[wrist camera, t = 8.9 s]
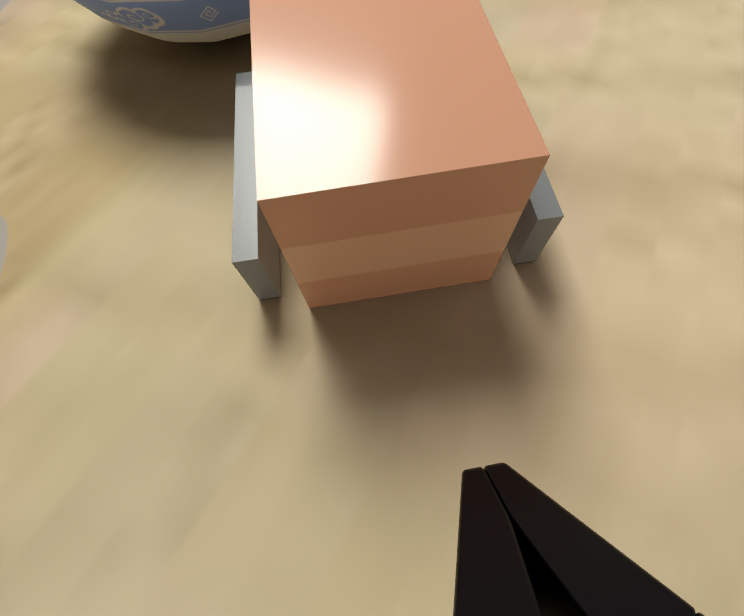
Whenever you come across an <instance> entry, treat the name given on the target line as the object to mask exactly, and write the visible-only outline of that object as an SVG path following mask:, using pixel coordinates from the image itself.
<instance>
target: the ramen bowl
mask: <svg viewBox="0 0 744 616" xmlns="http://www.w3.org/2000/svg"><path fill="white" fill-rule="evenodd" d="M74 1H76V2H78V3H79V4H81V5H82V6H84V7H86V8H87V9H89V10H90V11H92V12H94V13H95V14H97V15H98V16H100V17H102V18H104V19H106V20H108V21H110V22H112V23H114V24H116V25H118V26H120V27H122V28H125V29H128V30H131V31H134V32H138V33H141V34H144V35H147V36H150V37H154V38H157V39H160V40H165V41H171V42H217V41H221V40H225V39H229V38H233V37H237V36H241V35H245V34H249V33H251V29H250V2H249V0H74Z"/></svg>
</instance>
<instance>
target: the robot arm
mask: <svg viewBox="0 0 744 616" xmlns="http://www.w3.org/2000/svg"><path fill="white" fill-rule="evenodd" d="M453 616H704V615H703V614H701V613H695V610H694V608H693V607H692V606H691V605H689V604H688V603H687V602H686V601H684V600H683V599H682V598H680V597H679V596H678V595H676V594H675V593H674V592H673V591H671V590H670V589H669V588H667V587H666V586H665V585H663V584H662V583H661V582H659V581H658V580H657V579H656V578H654V577H653V576H652V575H650V574H649V573H648V572H646V571H645V570H644V569H643V568H641V567H640V566H639V565H637V564H636V563H635V562H633V561H632V560H631V559H630V558H628V557H627V556H626V555H624V554H623V553H622V552H620V551H619V550H618V549H617V548H615V547H614V546H613V545H611V544H610V543H609V542H607V541H606V540H605V539H604V538H602V537H601V536H600V535H598V534H597V533H596V532H594V531H593V530H592V529H590V528H589V527H588V526H587V525H585V524H584V523H583V522H581V521H580V520H579V519H577V518H576V517H575V516H574V515H572V514H571V513H570V512H568V511H567V510H566V509H564V508H563V507H562V506H561V505H559V504H558V503H557V502H555V501H554V500H553V499H551V498H550V497H549V496H548V495H546V494H545V493H544V492H542V491H541V490H540V489H538V488H537V487H536V486H534V485H533V484H532V483H531V482H529V481H528V480H527V479H525V478H524V477H523V476H521V475H520V474H519V473H518V472H516V471H515V470H514V469H512V468H511V467H510V466H508V465H507V464H505V463H498V464H493V465H488V466H486V467H485V468H484V469H483V468H481V467H477V468H472V469H467V470H464V471H463V472H462V483H461V499H460V515H459V531H458V547H457V563H456V579H455V595H454V611H453Z"/></svg>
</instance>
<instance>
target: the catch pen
mask: <svg viewBox="0 0 744 616" xmlns="http://www.w3.org/2000/svg"><path fill="white" fill-rule="evenodd" d="M563 217H564V216H563V213H562V211H561V208H560V206H559V203H558V201H557V199H556V196H555V194H554V191H553V189H552V186H551V184H550V182H549V179H548V177H547V174H546V172H545V170H544V168H543V170H542V172H541V175H540V177H539V179H538V181H537V183H536V185H535V187H534V189H533V191H532V193H531V195H530V197H529V199H528V202H527V204H526V206H525V208H524V210H523V212H522V214H521V216H520V218H519V220H518V222H517V224H516V227H515V229H514V231H513V233H512V235H511V237H510V239H509V241H508V243H507V246H508V249H509V252H510V255H511V258H512V261H513V264H517V263H524V262H531V261H535V260H536V258H537V257H538V255H539V254H540V252H541V251H542V249H543V247H544V246H545V244H546V243H547V241H548V240H549V238H550V237H551V235H552V234H553V232H554V230H555V229H556V227H557V226H558V224H559V223H560V221H561V220H562V218H563ZM232 264H233V265H234V266H235V268H236V269H237V270H238V272H239V273H240V274H241V276H242V277H243V278H244V280H245V281H246V282H247V284H248V285H249V286H250V288H251V289H252V290H253V292H254V293H255V294H256V296H257V297H258V298H259V300H261V299H268V298H275V297H281V283H280V257H279V245H278V243H277V241H276V239H275V237H274V234H273V232H272V230H271V228H270V226H269V224H268V222H267V220H266V218H265V216H264V214H263V212H262V210H261V208H260V206H259V204H258V202H257V190H256V163H255V136H254V109H253V82H252V71H251V72H244V73H236V88H235V135H234V182H233V229H232Z"/></svg>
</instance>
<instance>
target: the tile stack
mask: <svg viewBox="0 0 744 616" xmlns="http://www.w3.org/2000/svg"><path fill="white" fill-rule="evenodd" d="M249 2H250V29H251V55H252V82H253V109H254V136H255V163H256V190H257V202H258V204H259V206H260V208H261V210H262V212H263V214H264V216H265V218H266V220H267V222H268V224H269V226H270V228H271V230H272V232H273V234H274V237H275V239H276V241H277V243H278V245H279V247H280V249H281V251H282V253H283V255H284V257H285V259H286V261H287V263H288V265H289V267H290V269H291V271H292V273H293V275H294V277H295V279H296V281H297V283H298V285H299V288H300V290H301V292H302V294H303V296H304V298H305V300H306V302H307V304H308V306H309V308H314V307H320V306H326V305H333V304H339V303H345V302H351V301H358V300H364V299H370V298H376V297H383V296H389V295H395V294H401V293H408V292H414V291H420V290H426V289H432V288H439V287H445V286H451V285H457V284H464V283H470V282H476V281H482V280H489V279H491V276H492V274H493V272H494V270H495V268H496V266H497V264H498V262H499V260H500V258H501V256H502V254H503V251H504V249H505V247H506V245H507V243H508V241H509V239H510V237H511V235H512V233H513V231H514V229H515V227H516V224H517V222H518V220H519V218H520V216H521V214H522V212H523V210H524V208H525V206H526V204H527V202H528V199H529V197H530V195H531V193H532V191H533V189H534V187H535V185H536V183H537V181H538V179H539V177H540V175H541V172H542V170H543V168H544V166H545V164H546V162H547V160H548V158H549V156H550V154H549V152H548V150H547V148H546V145H545V143H544V141H543V139H542V137H541V135H540V132H539V130H538V128H537V126H536V124H535V121H534V119H533V117H532V115H531V113H530V111H529V108H528V106H527V104H526V102H525V100H524V98H523V95H522V93H521V91H520V89H519V87H518V84H517V82H516V80H515V78H514V76H513V74H512V71H511V69H510V67H509V65H508V63H507V61H506V58H505V56H504V54H503V52H502V50H501V47H500V45H499V43H498V41H497V39H496V37H495V34H494V32H493V30H492V28H491V26H490V24H489V21H488V19H487V17H486V15H485V13H484V11H483V8H482V6H481V4H480V2H479V0H249Z"/></svg>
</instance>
